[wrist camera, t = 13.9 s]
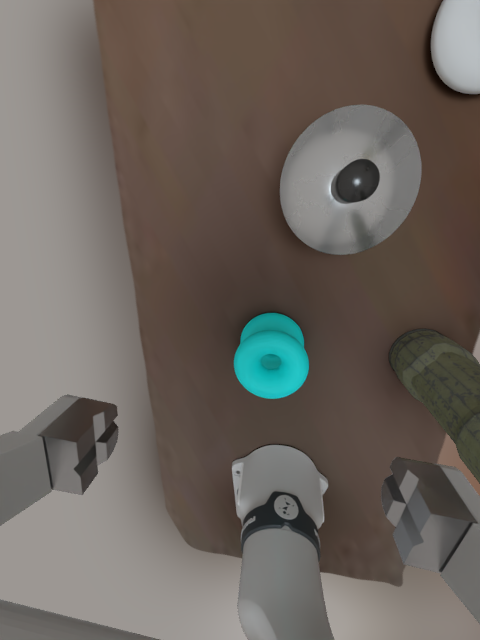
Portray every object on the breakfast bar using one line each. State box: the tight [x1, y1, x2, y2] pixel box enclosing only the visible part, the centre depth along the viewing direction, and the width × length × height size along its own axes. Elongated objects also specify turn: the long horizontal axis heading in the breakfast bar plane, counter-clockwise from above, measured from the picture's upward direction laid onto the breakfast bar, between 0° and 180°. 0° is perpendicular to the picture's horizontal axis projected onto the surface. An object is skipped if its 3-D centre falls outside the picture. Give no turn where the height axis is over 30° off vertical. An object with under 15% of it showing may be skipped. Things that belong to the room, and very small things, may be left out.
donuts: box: [234, 313, 309, 399], centre depth 40 cm, size 10×10×10 cm
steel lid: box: [280, 105, 421, 255], centre depth 25 cm, size 13×13×5 cm
